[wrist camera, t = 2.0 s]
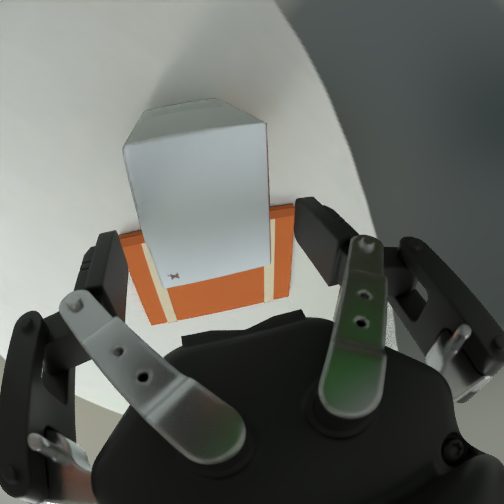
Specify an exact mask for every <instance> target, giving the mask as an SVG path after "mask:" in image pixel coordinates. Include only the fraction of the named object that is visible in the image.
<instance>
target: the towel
mask: <svg viewBox="0 0 504 504" xmlns="http://www.w3.org/2000/svg"><path fill="white" fill-rule="evenodd" d="M294 215H295V206H293V204H288V205H282V206H275V207H270V229H271V264H270V265H267V266H262V267H258V268H255V269H251V270H247V271H242V272H238V273H234V274H230V275H226V276H222V277H217V278H213V279H209V280H204V281H200V282H195V283H191V284H186V285H181V286H176V287H171V288H167V289H163V288H162V285H161V283H160V280H159V277H158V275H157V272H156V269H155V266H154V263H153V261H152V258H151V255H150V252H149V250H148V248H147V246H146V243H145V240H144V236H143V234H142V231H137V232H133V233H128V234H123V235H119V239H120V242H121V245H122V248H123V251H124V254H125V257H126V260H127V264H128V269H129V272H130V275H131V277H132V280H133V282H134V285H135V287H136V290H137V292H138V295H139V297H140V300H141V302H142V305H143V307H144V309H145V312H146V314H147V316H148V319H149V321H150V323H151V325H156V324H162V323H167V322H168V323H173V322H177V321H178V320H183V319H188V318H193V317H198V316H203V315H208V314H212V313H217V312H222V311H227V310H231V309H236V308H240V307H245V306H249V305H253V304H258V303H262V302H264V303H266V302H271V301H273V300H275V299H279V298H283V297H287V296H289V288H290V275H291V262H292V247H293V232H294Z"/></svg>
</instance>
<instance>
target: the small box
mask: <svg viewBox="0 0 504 504" xmlns="http://www.w3.org/2000/svg"><path fill="white" fill-rule="evenodd" d="M123 156H124V161H125V166H126V170H127V175H128V179H129V184H130V187H131V191H132V195H133V199H134V203H135V207H136V211H137V215H138V219H139V223H140V227H141V231H142V234H143V236H144V240H145V243H146V246H147V248H148V250H149V252H150V255H151V258H152V261H153V263H154V266H155V269H156V272H157V275H158V277H159V280H160V283H161V285H162V288H163V289H167V288H171V287H176V286H181V285H186V284H191V283H195V282H200V281H204V280H209V279H213V278H217V277H222V276H226V275H230V274H234V273H238V272H242V271H247V270H251V269H255V268H258V267H262V266H267V265H270V264H271V229H270V195H269V167H268V145H267V123H265V122H264V121H262V120H260V119H258V118H256V117H254V116H252V115H250V114H248V113H246V112H244V111H242V110H240V109H238V108H236V107H234V106H232V105H230V104H228V103H225V102H223V101H221V100H219V99H216V98H213V99H206V100H199V101H193V102H187V103H181V104H175V105H170V106H165V107H160V108H155V109H150V110H146V111H144V112H143V114H142V115H141V117H140V119H139V120H138V122H137V124H136V125H135V127H134V129H133V130H132V132H131V134H130V136H129V137H128V139H127V141H126V142H125V144H124V146H123Z"/></svg>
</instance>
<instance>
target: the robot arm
mask: <svg viewBox="0 0 504 504" xmlns="http://www.w3.org/2000/svg"><path fill="white" fill-rule="evenodd" d="M294 235H295V238H296V240H297V242H298V243H299V245H300V246H301V248H302V249H303V250H304V252H305V253H306V255H307V256H308V257H309V259H310V260H311V262H312V263H313V265H314V266H315V267H316V269H317V270H318V272H319V273H320V274H321V276H322V277H323V279H324V280H325V282H326V283H327V285H328V286H329V287H330V286H333V285H337V284H339V285H340V286H341V287H340V291H339V295H338V300H337V304H336V309H335V313H334V317H333V321H330V320H326V319H322V318H313V317H305V315H304V313H303V311H302V310H301V309H300V310H296V311H293V312H289V313H285V314H281V315H277V316H273V317H271V318H269V319H267V320H265V321H263V322H261V323H259V324H257V325H255V326H253V327H251V328H248V329H246V330H216V331H207V332H202V333H197V334H192V335H187V336H181V338H182V345H183V346H181V347H179V348H177V349H175V350H173V351H171V352H170V353H169V354H167V355H166V356H165V357H164V358H162V357H161V356H160V355H159V354H158V353H157V352H156V351H154V350H153V349H152V348H151V347H150V346H149V345H148V344H147V343H145V342H144V341H143V340H142V339H141V338H140V337H139V336H138V335H137V334H136V333H135V332H134V331H132V330H131V329H130V328H129V327H128V326H127V325H126V324H125V311H126V296H127V283H128V264H127V260H126V257H125V254H124V251H123V248H122V245H121V242H120V239H119V236H118V233H117V232H116V230H114V231H110V232H105V233H101V234H99V236H98V240H97V243H96V246H94V247H91V248H90V249H89V250H88V251H87V252H86V254H85V255H84V258H83V261H82V265H81V267H80V271H79V274H78V278H77V281H76V285H75V288H74V291H73V292H71V293H69V294H68V295H67V296H66V297H65V298H64V299H63V300H62V301H61V303H60V306H59V312H57V313H55V314H53V315H51V316H48V317H46V318H44V319H43V318H42V316H41V315H40V314H39V313H38V312H37V311H30V312H27V313H25V314H24V315H22V316H21V317H20V318H19V319H18V320H17V322H16V324H15V326H14V329H13V333H12V337H11V341H10V345H9V349H8V354H7V358H6V363H5V368H4V374H3V379H2V386H1V392H0V485H1V487H2V489H3V490H4V491H5V492H6V493H7V494H8V495H10V496H12V497H14V498H17V499H20V500H23V501H26V502H28V503H30V504H504V465H503V464H502V463H501V462H500V461H499V460H498V459H497V458H495V457H494V456H492V455H489V454H486V453H484V452H482V451H480V450H478V449H476V448H474V447H473V446H471V445H470V444H469V443H467V442H466V441H465V440H464V438H463V437H462V436H461V434H460V431H459V429H458V425H457V422H456V418H455V412H454V405H453V404H454V403H455V402H457V403H464V402H467V401H468V400H469V399H470V398H471V397H473V395H475V394H476V393H477V392H478V391H479V390H480V389H481V388H482V387H483V386H484V385H485V384H486V383H487V382H488V381H489V380H490V379H491V378H492V377H493V376H494V375H495V374H496V373H497V372H498V371H499V370H500V369H501V368H502V367H503V366H504V331H503V330H502V329H501V327H500V326H499V325H498V324H497V322H496V321H495V320H494V319H493V317H492V316H491V315H490V313H488V311H487V310H486V308H485V307H484V306H483V305H482V304H481V302H480V301H479V300H478V299H477V298H476V296H475V295H474V294H473V293H472V292H471V291H470V290H469V288H468V287H467V286H466V285H465V284H464V283H463V282H462V281H461V280H460V278H459V277H458V276H457V275H456V274H455V273H454V272H453V271H452V270H451V269H450V268H449V267H448V266H447V264H446V263H445V262H444V261H442V259H441V258H440V257H439V256H438V255H437V254H436V253H435V252H434V251H433V250H432V249H431V248H430V247H429V246H428V245H427V244H426V243H424V242H423V241H422V240H420V239H417V238H414V237H403V238H402V239H401V240H400V243H399V246H398V247H384V246H383V244H382V243H381V242H380V241H379V240H378V239H376V238H374V237H372V236H368V235H359V234H358V233H357V232H356V231H355V230H354V229H353V228H352V227H351V226H350V225H349V224H348V223H347V222H345V220H344V219H343V218H342V217H340V215H339V214H338V213H336V212H335V211H334V210H333V209H331V208H329V207H327V206H325V205H323V206H322V205H321V204H320V203H319V202H318V201H317V200H316V199H315V198H314V197H305V198H298V199H296V201H295V215H294ZM418 281H419V282H420V283H421V284H422V285H423V287H424V288H425V289H426V291H427V294H428V300H427V303H426V302H425V300H424V299H423V298H422V296H421V295H420V294H419V293H418V291H417V290H416V289H415V287H416V285H417V282H418ZM388 302H389V303H390V305H391V306H392V308H393V309H394V310H395V312H396V313H397V315H398V316H399V318H400V319H401V321H402V322H403V324H404V325H405V326H406V328H407V329H408V331H409V332H410V334H411V335H412V337H413V338H414V340H415V341H416V343H417V344H418V346H419V348H420V349H421V351H422V352H423V354H424V355H425V357H426V358H425V360H426V361H425V362H426V364H424V363H422V362H419V361H417V360H415V359H413V358H411V357H409V356H406V355H404V354H402V353H400V352H398V351H395V350H393V349H391V348H389V347H387V346H385V338H386V324H387V303H388ZM91 359H92V360H93V361H94V363H95V364H96V365H97V367H98V368H99V369H100V370H101V372H102V373H103V374H104V375H105V376H106V378H107V379H108V380H109V381H110V382H111V384H112V385H113V386H114V387H115V388H116V389H117V390H118V392H119V393H120V394H121V395H122V396H123V397H124V398H125V399H126V400H127V402H128V403H129V404H130V406H129V407H128V409H127V410H126V412H125V413H124V415H123V417H122V418H121V420H120V421H119V423H118V424H117V426H116V428H115V429H114V431H113V432H112V434H111V435H110V437H109V438H108V440H107V442H106V443H105V445H104V446H103V448H102V450H101V451H100V453H99V454H98V456H97V457H96V460H95V461H94V464H93V467H92V468H91V466H90V464H89V461H88V457H87V455H86V452H85V451H84V450H83V448H82V447H81V446H79V445H78V444H76V430H75V366H78V365H80V364H82V363H84V362H87V361H89V360H91ZM42 368H43V372H42Z"/></svg>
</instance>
